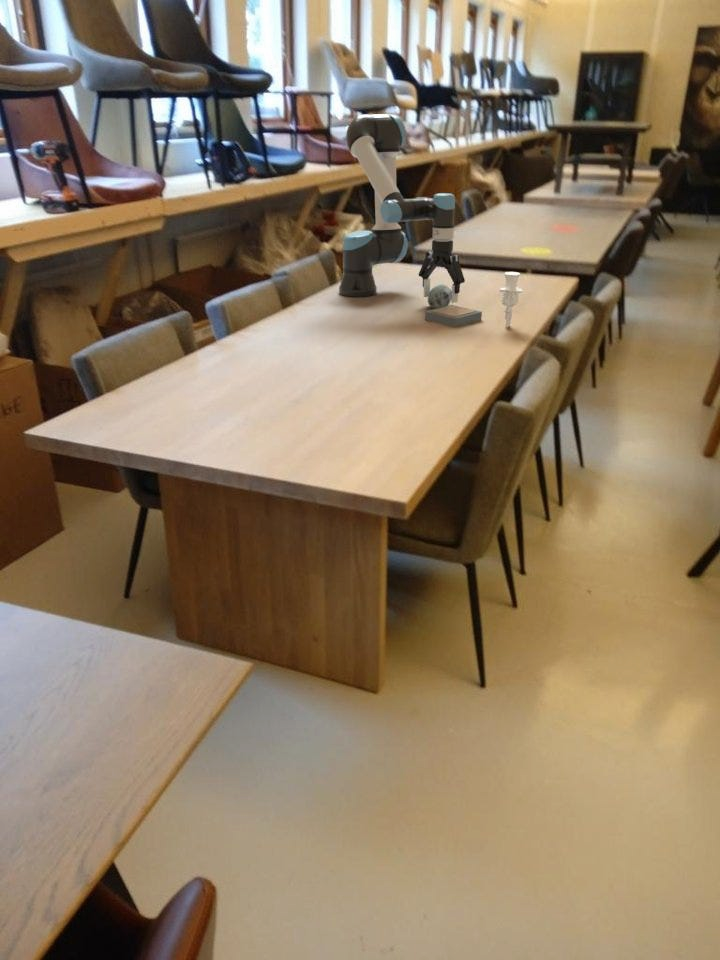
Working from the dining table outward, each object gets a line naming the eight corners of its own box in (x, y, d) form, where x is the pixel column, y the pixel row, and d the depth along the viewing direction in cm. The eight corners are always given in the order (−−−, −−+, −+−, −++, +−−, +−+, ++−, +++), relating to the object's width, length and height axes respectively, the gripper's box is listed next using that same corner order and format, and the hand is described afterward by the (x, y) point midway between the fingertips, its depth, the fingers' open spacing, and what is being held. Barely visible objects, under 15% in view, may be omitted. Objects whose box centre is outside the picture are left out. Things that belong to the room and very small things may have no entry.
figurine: (498, 322, 260) (503, 269, 252) (520, 324, 257) (526, 271, 249) (493, 330, 251) (498, 275, 243) (516, 332, 249) (521, 277, 241)
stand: (424, 319, 263) (425, 310, 261) (450, 313, 272) (451, 303, 270) (455, 327, 254) (456, 317, 252) (481, 320, 263) (481, 310, 261)
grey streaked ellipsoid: (454, 304, 269) (443, 278, 268) (430, 315, 272) (419, 289, 272) (459, 305, 282) (450, 280, 281) (436, 315, 285) (427, 291, 284)
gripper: (410, 237, 273) (408, 295, 283) (463, 244, 257) (460, 306, 266) (423, 235, 278) (422, 292, 287) (476, 242, 262) (473, 302, 271)
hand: (440, 299), depth 277 cm, fingers open, 13 cm apart
